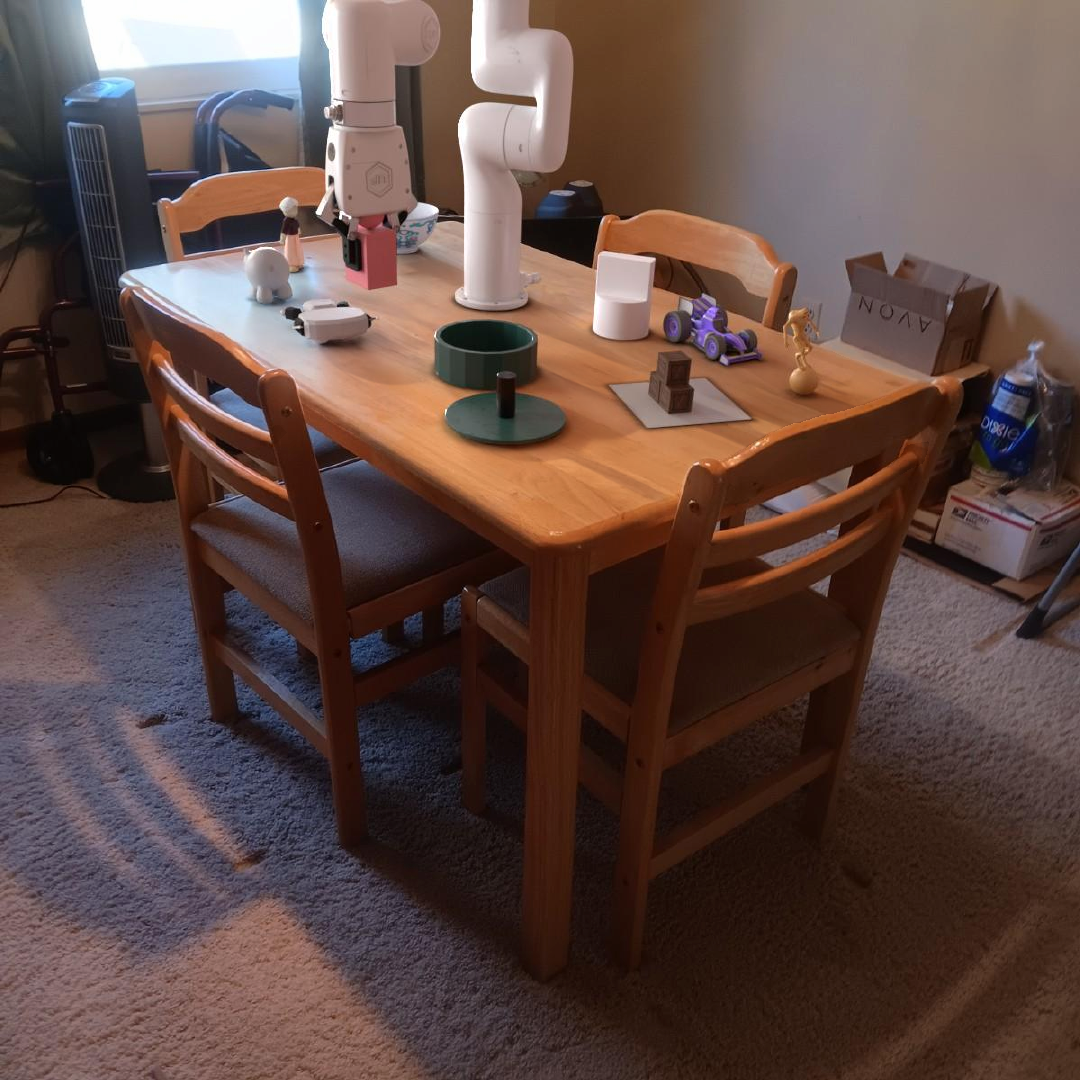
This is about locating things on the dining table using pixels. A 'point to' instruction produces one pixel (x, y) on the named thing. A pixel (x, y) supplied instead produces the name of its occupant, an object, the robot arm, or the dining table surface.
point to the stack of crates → (677, 396)
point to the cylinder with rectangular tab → (623, 295)
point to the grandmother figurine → (291, 234)
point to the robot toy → (328, 320)
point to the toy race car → (709, 330)
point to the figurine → (801, 353)
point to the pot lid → (505, 415)
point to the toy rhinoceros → (267, 274)
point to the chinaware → (416, 228)
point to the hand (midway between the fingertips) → (370, 264)
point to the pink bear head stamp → (375, 254)
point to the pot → (484, 352)
